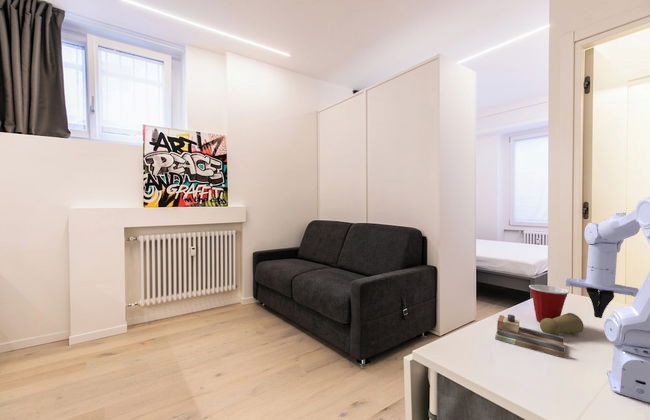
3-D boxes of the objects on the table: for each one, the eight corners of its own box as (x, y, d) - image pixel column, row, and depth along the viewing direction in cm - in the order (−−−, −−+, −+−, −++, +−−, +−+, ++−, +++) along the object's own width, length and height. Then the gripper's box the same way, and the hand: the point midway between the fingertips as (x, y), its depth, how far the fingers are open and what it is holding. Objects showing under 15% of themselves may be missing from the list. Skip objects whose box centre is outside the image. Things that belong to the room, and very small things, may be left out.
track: (563, 343, 85) (564, 327, 85) (564, 357, 78) (565, 339, 78) (499, 328, 95) (500, 312, 95) (495, 339, 88) (495, 322, 87)
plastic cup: (557, 317, 104) (559, 283, 103) (574, 331, 93) (576, 294, 92) (522, 313, 106) (523, 281, 106) (534, 326, 96) (536, 290, 95)
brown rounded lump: (585, 335, 89) (556, 341, 87) (564, 330, 95) (537, 335, 92) (582, 315, 90) (553, 320, 87) (562, 310, 95) (534, 315, 93)
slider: (518, 331, 90) (519, 315, 89) (517, 337, 86) (518, 319, 86) (503, 328, 92) (504, 311, 92) (501, 333, 89) (502, 316, 88)
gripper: (636, 269, 79) (632, 318, 79) (566, 261, 87) (563, 305, 88) (642, 274, 73) (638, 328, 74) (567, 265, 82) (564, 313, 83)
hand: (597, 316), depth 81 cm, fingers closed
